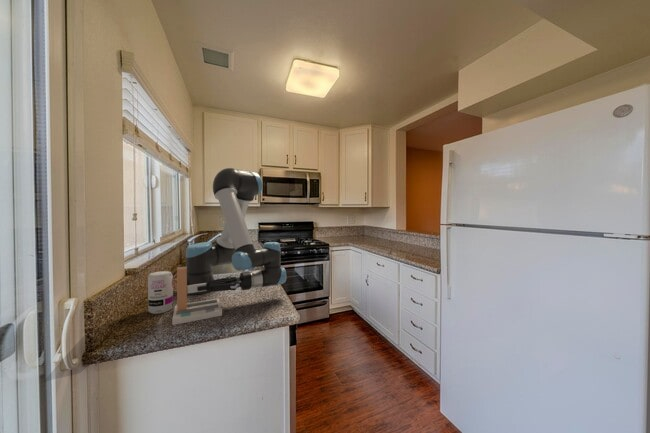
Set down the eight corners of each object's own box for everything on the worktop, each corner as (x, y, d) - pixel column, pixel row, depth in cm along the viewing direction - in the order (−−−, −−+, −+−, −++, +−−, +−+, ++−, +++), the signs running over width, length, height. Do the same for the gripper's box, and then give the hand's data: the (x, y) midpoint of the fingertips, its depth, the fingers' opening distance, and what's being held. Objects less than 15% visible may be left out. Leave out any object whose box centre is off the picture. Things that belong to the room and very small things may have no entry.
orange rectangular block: (178, 308, 91) (177, 267, 90) (187, 307, 92) (186, 266, 92) (177, 312, 87) (176, 269, 87) (186, 310, 89) (186, 268, 88)
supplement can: (169, 304, 101) (168, 269, 100) (176, 309, 95) (175, 272, 95) (145, 310, 94) (145, 273, 94) (151, 316, 89) (151, 277, 89)
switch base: (175, 310, 95) (175, 302, 95) (218, 302, 102) (218, 296, 102) (172, 325, 82) (172, 316, 82) (222, 315, 90) (222, 307, 90)
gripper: (254, 293, 96) (187, 305, 84) (247, 284, 108) (187, 294, 96) (254, 275, 96) (186, 284, 84) (247, 268, 107) (187, 275, 96)
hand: (187, 289), depth 90 cm, fingers closed
